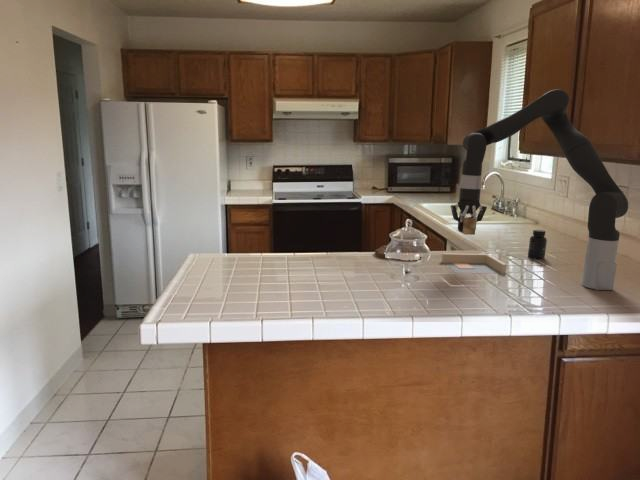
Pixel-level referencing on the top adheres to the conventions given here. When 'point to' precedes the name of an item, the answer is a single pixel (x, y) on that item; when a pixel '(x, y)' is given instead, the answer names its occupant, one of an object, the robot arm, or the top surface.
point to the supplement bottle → (537, 245)
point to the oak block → (469, 225)
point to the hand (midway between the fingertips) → (466, 231)
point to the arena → (473, 263)
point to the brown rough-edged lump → (381, 252)
